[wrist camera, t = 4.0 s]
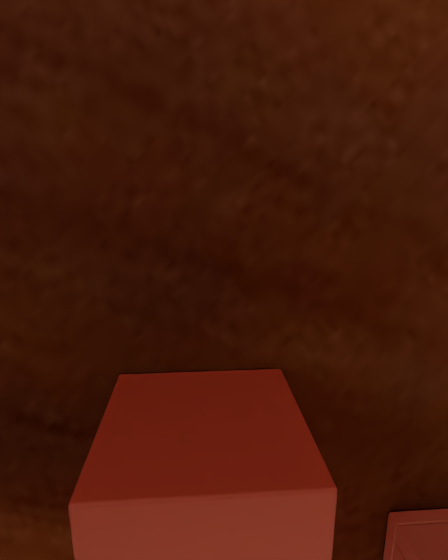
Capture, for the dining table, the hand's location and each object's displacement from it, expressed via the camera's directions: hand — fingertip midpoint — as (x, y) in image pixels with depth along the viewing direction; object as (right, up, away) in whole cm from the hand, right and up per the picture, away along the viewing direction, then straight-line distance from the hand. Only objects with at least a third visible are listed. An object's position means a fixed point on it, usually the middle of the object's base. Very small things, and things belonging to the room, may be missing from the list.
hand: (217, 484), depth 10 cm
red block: (0, +1, +1) cm, 1 cm away
